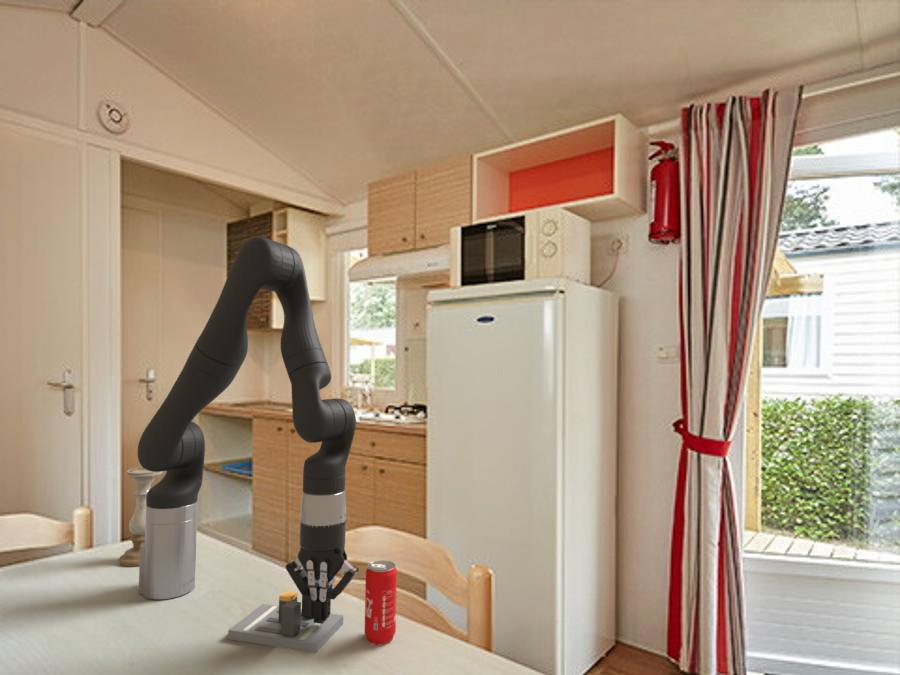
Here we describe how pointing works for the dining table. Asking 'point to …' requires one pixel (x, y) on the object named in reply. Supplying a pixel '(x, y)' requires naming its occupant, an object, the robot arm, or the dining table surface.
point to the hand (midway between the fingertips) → (320, 621)
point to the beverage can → (380, 602)
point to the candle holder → (138, 514)
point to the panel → (267, 630)
